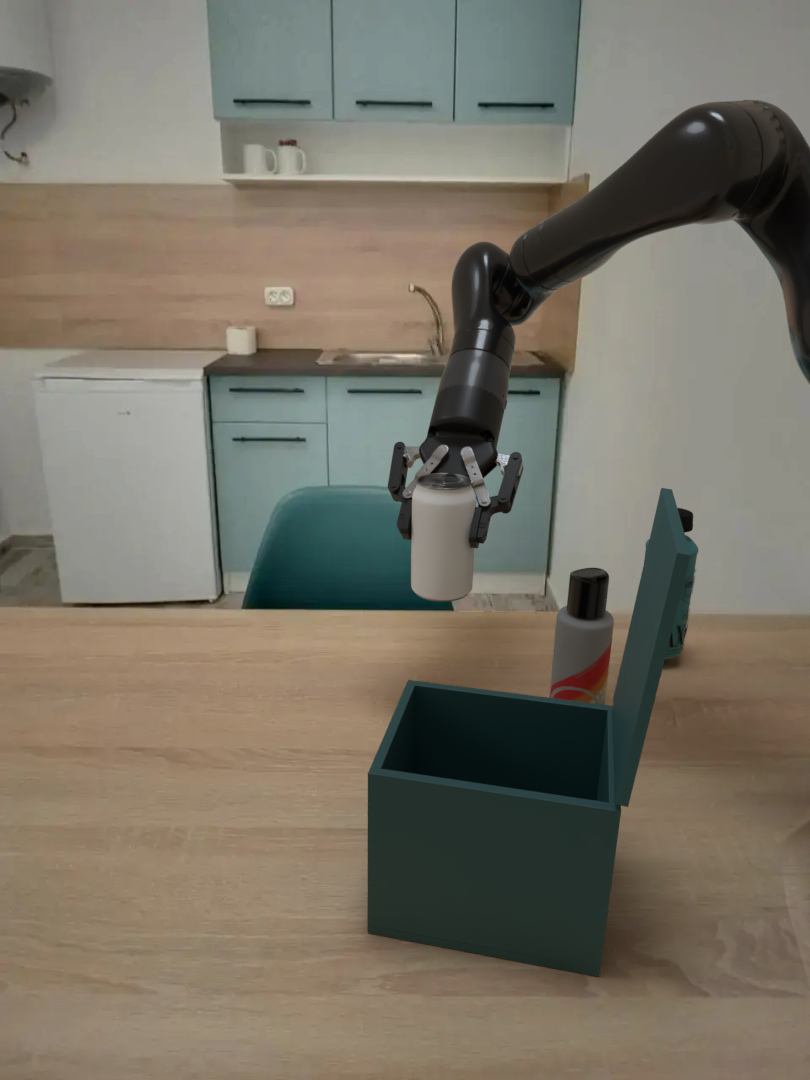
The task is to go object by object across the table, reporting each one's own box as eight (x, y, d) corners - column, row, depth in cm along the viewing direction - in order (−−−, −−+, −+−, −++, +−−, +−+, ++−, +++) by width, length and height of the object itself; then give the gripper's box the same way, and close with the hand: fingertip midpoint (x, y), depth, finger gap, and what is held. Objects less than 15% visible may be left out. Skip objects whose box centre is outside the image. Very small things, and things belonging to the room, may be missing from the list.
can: (483, 587, 88) (488, 478, 84) (451, 608, 83) (455, 494, 79) (432, 573, 91) (434, 468, 87) (398, 593, 86) (399, 482, 82)
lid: (677, 552, 49) (691, 554, 49) (661, 487, 61) (672, 489, 61) (615, 804, 56) (628, 807, 55) (612, 700, 68) (622, 702, 68)
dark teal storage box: (367, 933, 64) (367, 773, 59) (404, 819, 77) (407, 679, 71) (599, 977, 61) (621, 811, 56) (599, 850, 73) (617, 705, 68)
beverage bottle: (628, 665, 105) (647, 515, 98) (632, 642, 111) (650, 499, 104) (682, 674, 103) (705, 522, 96) (683, 650, 109) (705, 505, 102)
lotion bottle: (573, 765, 85) (592, 586, 78) (534, 739, 89) (548, 567, 82) (610, 746, 88) (631, 573, 81) (571, 722, 92) (588, 555, 85)
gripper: (400, 378, 89) (362, 516, 82) (534, 386, 85) (505, 532, 78) (413, 417, 95) (380, 548, 89) (538, 427, 91) (513, 564, 85)
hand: (439, 540), depth 83 cm, fingers closed on can, 6 cm apart
